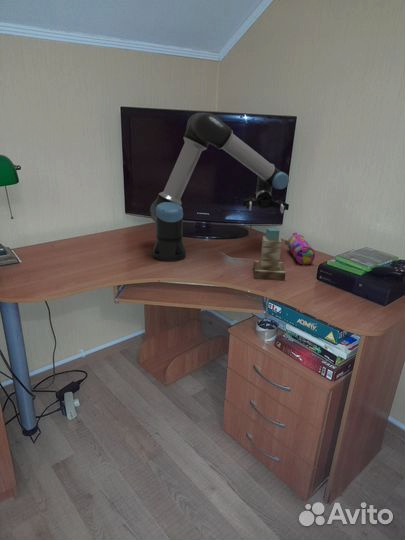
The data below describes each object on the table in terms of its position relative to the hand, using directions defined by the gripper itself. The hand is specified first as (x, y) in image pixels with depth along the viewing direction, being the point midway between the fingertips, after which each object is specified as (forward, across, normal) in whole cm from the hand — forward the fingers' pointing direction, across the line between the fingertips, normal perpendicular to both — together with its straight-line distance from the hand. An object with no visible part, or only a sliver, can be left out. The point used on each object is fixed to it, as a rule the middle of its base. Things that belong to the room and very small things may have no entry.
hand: (266, 208), depth 163 cm
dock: (+13, -3, -24) cm, 28 cm away
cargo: (+13, -3, -9) cm, 16 cm away
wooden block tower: (+13, -3, -21) cm, 25 cm away
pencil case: (-10, -18, -24) cm, 32 cm away
